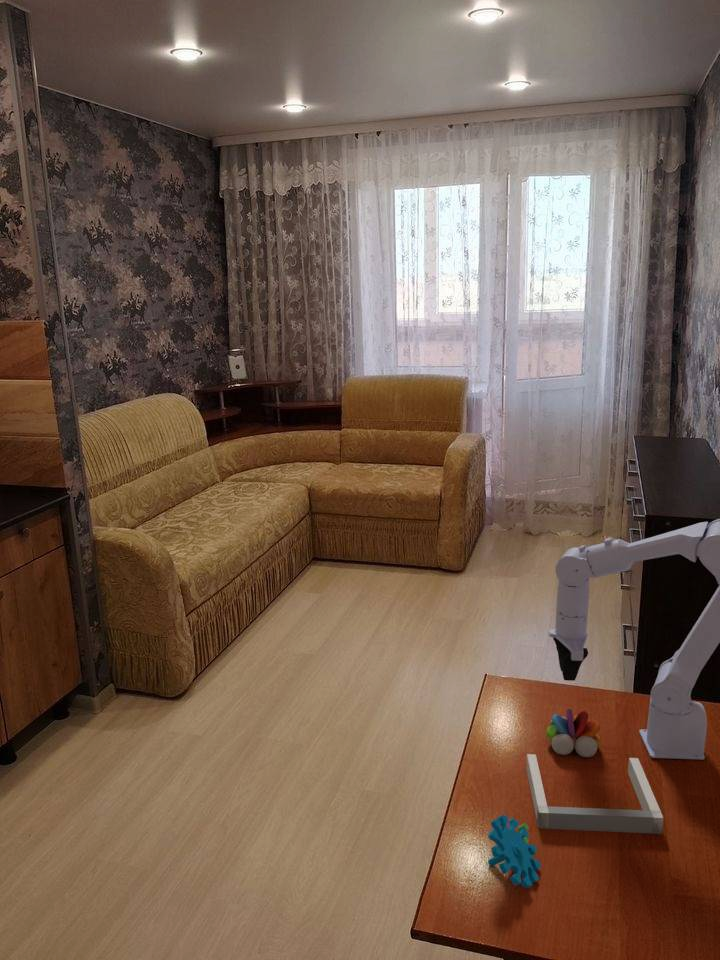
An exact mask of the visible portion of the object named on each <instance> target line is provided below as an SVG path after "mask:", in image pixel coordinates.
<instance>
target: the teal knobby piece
mask: <svg viewBox="0 0 720 960" xmlns="http://www.w3.org/2000/svg"><path fill="white" fill-rule="evenodd" d="M490 826H491V827H492V828H493V829H491V830H490V831H489V832H488V837H487V838H488V839H489V840H490V841H492V842H493V843H495V844H496V845H494V846H492V847H491V854H492V857H491V858H489V859H488V860H487V864H488V866H489V867H494V866H496V865H497V864H498V866H499V867H498V868H499V869H500V871H501V873H502V874H503V875H504V874H507V873H508V872H510V871H511V870H512V871H513V873H514V874H512V875H510V877H509V879H510V882H511V883H512V884H513V885H514V886H518V885H519V884H521V886H522V887H523V888H525V889H529V888H531V887H532V886H533V883H535V882H537V881H539V880H540V878H539V877H540V876H539V875H538V873H537V871H539V870H540V869H541V863H540V861H539V860H538V859H536V858H535V857H534V856H533V855H535V854H536V855H537V852H538V851H537V847H536V845H535V844H533V843H532V844H529V841H530V840H529V838H530V835H529V833H528V831H529V828H530V827H529V825H528V824H527V823H526V822H524V823H522V824H521V825H519V822H518V821H517V819H516V818H515V817H513V818H511V819H509V817H508V816H507V815H505V814H501V815H499V816H498V817H497V818H496V819H494V820H492V821H491V822H490ZM516 828H517V831H516ZM510 869H511V870H510ZM521 876H522V877H521Z"/></svg>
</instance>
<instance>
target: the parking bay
mask: <svg viewBox="0 0 720 960" xmlns="http://www.w3.org/2000/svg"><path fill="white" fill-rule="evenodd" d="M627 766H628V767H627V774H628V777H629V780H630V781H631V784H632V787H633V789H634V792H635V794H636V796H637V798H638V802H639V805H640V807H641V809H642V810H641V809H620V808H619V809H618V808H598V807H597V808H593V807H572V806H569V807H568V806H567V807H565V806H550V805H549V806H548V803H547V799H546V794H545V789H544V786H543V782H542V781H543V780H542V777H541V772H540V767H539V763H538V759H537V754H534V753H533V754H531V753H527V754H526V766H525V769H526V773H527V778H528V784H529V788H530V789H529V790H530V794H531V799H532V802H533V803H532V804H533V808H534V809H533V810H534V814H535V819H536V824H537V827H538V828H537V829H541V830H542V829H544V830H547V829H548V830H564V831H565V830H567V831H590V832H591V831H593V832H607V833H608V832H611V833H612V832H613V833H614V832H615V833H632V834H633V833H635V834H654V835H655V834H656V835H657V834H658V835H659V834H660V835H661V834H662V832H663V827H664V826H663V825H664V816H663V814H662V810H661V809H660V806H659V804H658V801H657V799H656V797H655V795H654V792H653V791H652V790H653V789H652V788H651V786H650V783H649V780H648V779H647V776H646V773H645V772H644V768H643V767H642V763H641V762H640V759H639V758H638V757H629V758H628V765H627Z"/></svg>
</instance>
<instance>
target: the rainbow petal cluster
mask: <svg viewBox="0 0 720 960" xmlns="http://www.w3.org/2000/svg"><path fill="white" fill-rule="evenodd" d="M573 714H574V713H573V710H572V709H571V708H568V709H567V710H566V716H567V717H564V716H561V714H557V713H555V714H553V715H552V717H551V720H550V722H549V726H548V727H547V728H546V733H545V734H546V737H547V739H548V740H549V741H551V748H552V749H553V751H554V752H555V753H556V754H558V755H561V756H566V755H567V756H568V755H569V754H571V753H572V751H573V750H575V752H576V753H577V754H578V755H579V756H580V757H583V758H591V757H593V756H594V755H595V754H596V753H597V750H598V747H599V745H601V738H600V735H598V733H599V731H600V730H601V725H600V724H599V722H598V721H597V720H594V719H589V713H588V712H587V711H584V710H583V711H580V712H579V713H578V715H576V717H575V719H574V715H573Z"/></svg>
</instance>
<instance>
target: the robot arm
mask: <svg viewBox="0 0 720 960" xmlns="http://www.w3.org/2000/svg"><path fill="white" fill-rule="evenodd" d="M674 555H680V556H682V557H684V558H686V559H688V560H689V561H690V562H692V563H696V561H697V559H699V560H700V562H701V564H702V565H703V566H704V567H705V568H706V569H707V570H708V571H709V572H710V574H712V575H713V576H714V578H715V579H716V582H717V585H718V587H717V588H716V590H715V592H714V593H713V595H712V596H711V598H710V600H709V601H708V603H707V605H706V606H705V607H704V609H703V611H702V612H701V614H700V616H699V617H698V619H697V620H696V622H695V624H694V625H693V626H692V629H691V630H690V631H689V633H688V634H687V636H686V638H685V639H684V641H683V642H682V644H681V646H680V647H679V649H677V650H676V651H675V652H674V654H673V656H672V657H670V658H669V659H667V660H665V661H663V662H662V663H661V664H660V666H659V668H658V671H657V673H658V674H657V677H656V679H655V682H654V684H653V686H652V688H651V690H650V697H649V698H650V699H649V706H648V707H649V708H648V719H647V727H646V728H645V729H639V731H638V732H639V735H640V737H641V739H642V742H643V744H644V746H645V748H646V750H647V752H648V753H647V754H648V755H649V757H650V758H651V759H652V758H653V759H672V760H673V759H674V760H675V759H677V760H678V759H681V760H701V761H702V760H705V758H706V756H705V754H704V753H705V745H706V737H707V731H708V730H707V729H708V721H707V719H708V718H707V713H706V712H707V711H706V710H705V707H704V705H703V704H702V703H701V702H698V701H693V700H692V698H691V697H692V696H691V694H692V690H693V688H694V687H695V685H696V682H697V680H698V679H699V676H700V674H701V672H702V670H703V668H704V667H705V665H706V664H707V663H708V661H709V659H710V658H711V656H712V655H713V653H714V651H716V649H717V647H718V645H719V644H720V518H718V519H715V520H713V521H711V522H709V521H703V522H698V523H695V524H694V523H693V524H692V525H688V526H685V527H681V528H678V529H675V530H671V531H667V532H664V533H661V534H657V535H654V536H651V537H647V538H644V539H641V540H637V541H634V542H628V541H626V540H625V539H624V540H623V539H621V538H618V539H613V537H608V538H605V539H604V541H603V542H601V543H598V544H594V545H590V546H587V545H586V544H584V545H583V544H582V545H580V546H579V547H577V546H576V547H575V546H574V547H572V548H569V549H567V550H566V551H565V552H564V553H563V555H562V556H561V557H560V559H559V560H558V561H557V563H556V566H555V575H556V577H557V579H558V584H557V593H556V605H555V606H556V607H555V608H556V609H555V610H556V611H555V625H554V626H555V627H554V628H551V629H548V636H549V637H550V638H552V639H553V641H554V644H555V649H556V651H557V656H558V663H559V668H560V671H561V672H562V678H563V681H574V682H575V681H576V679H577V677H578V674H579V671H580V668H581V665H582V663H584V660H585V659H587V658H588V655H589V651H588V647H585V644H586V642H587V639H588V632H587V631H588V629H587V628H588V616H589V615H588V614H589V603H590V602H589V601H590V579H591V578H592V579H596V578H600V577H604V576H609V575H612V574H613V575H614V574H618V573H621V572H627V571H630V569H631V568H632V566H633V564H634V563H635V562H642V561H646V560H652V559H659V558H664V557H669V556H674Z"/></svg>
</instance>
